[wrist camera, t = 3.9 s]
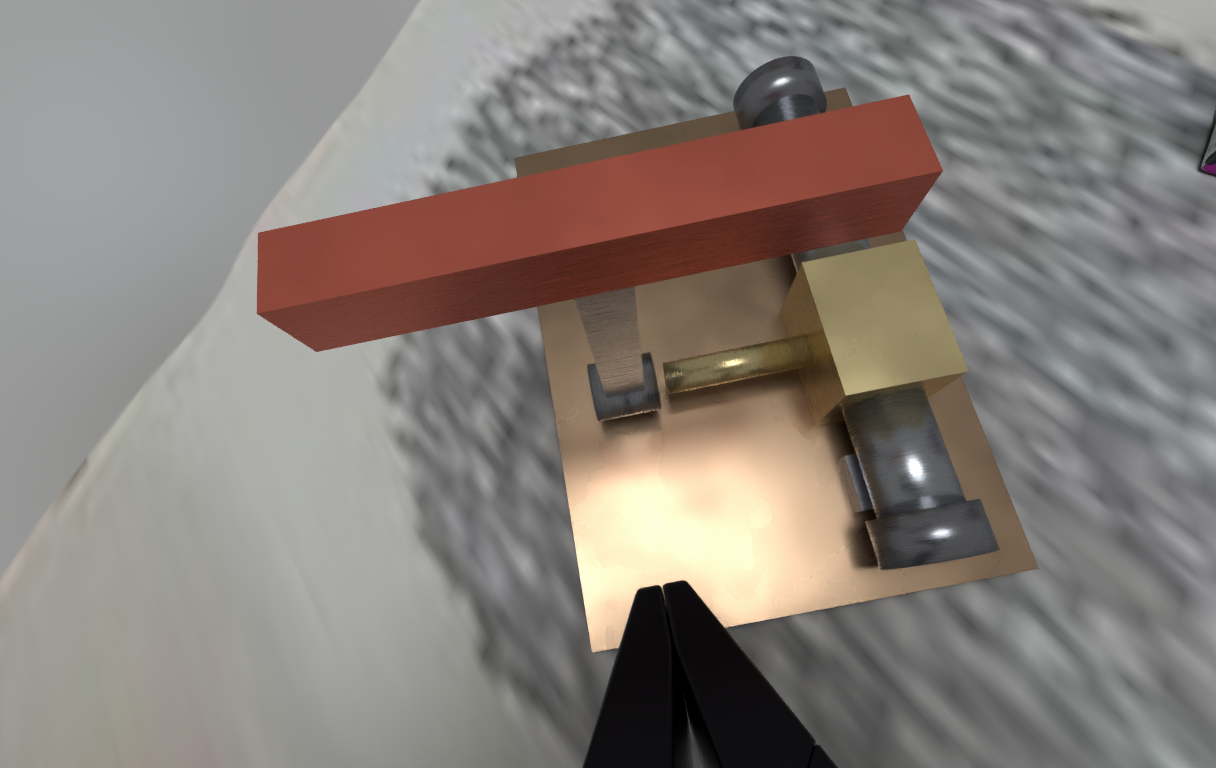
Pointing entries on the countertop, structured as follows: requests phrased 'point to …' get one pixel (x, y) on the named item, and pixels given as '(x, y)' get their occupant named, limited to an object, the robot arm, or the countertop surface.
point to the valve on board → (778, 421)
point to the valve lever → (599, 236)
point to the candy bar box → (1210, 153)
